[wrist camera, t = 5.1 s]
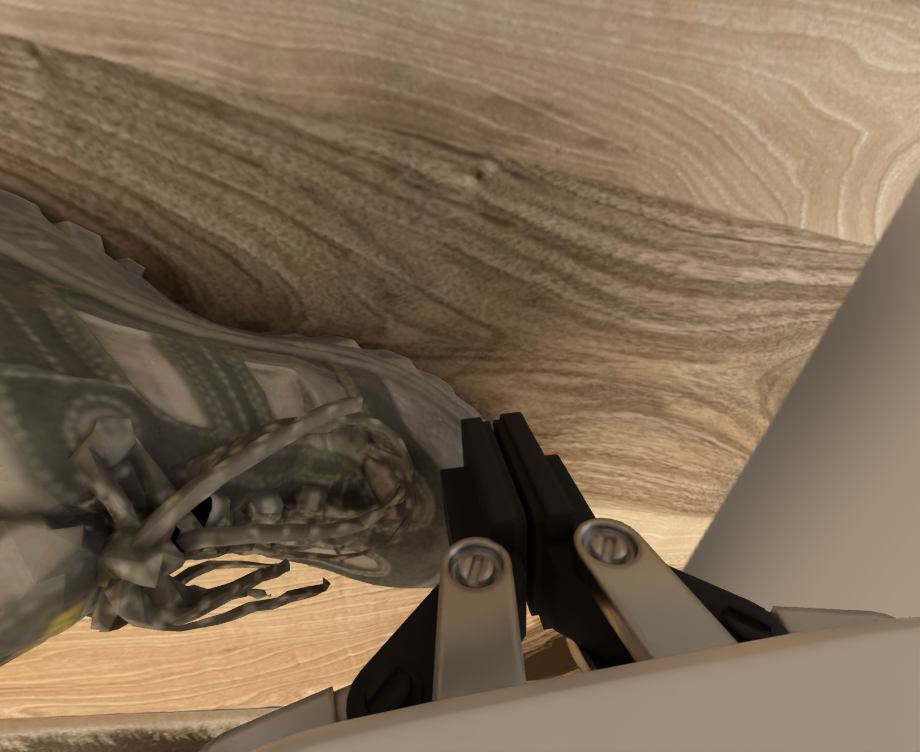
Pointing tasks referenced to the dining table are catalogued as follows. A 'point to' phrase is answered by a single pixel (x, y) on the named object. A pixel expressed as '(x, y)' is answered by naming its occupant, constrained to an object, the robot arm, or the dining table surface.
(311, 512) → the hiking shoe
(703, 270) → the dining table surface
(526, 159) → the dining table surface
